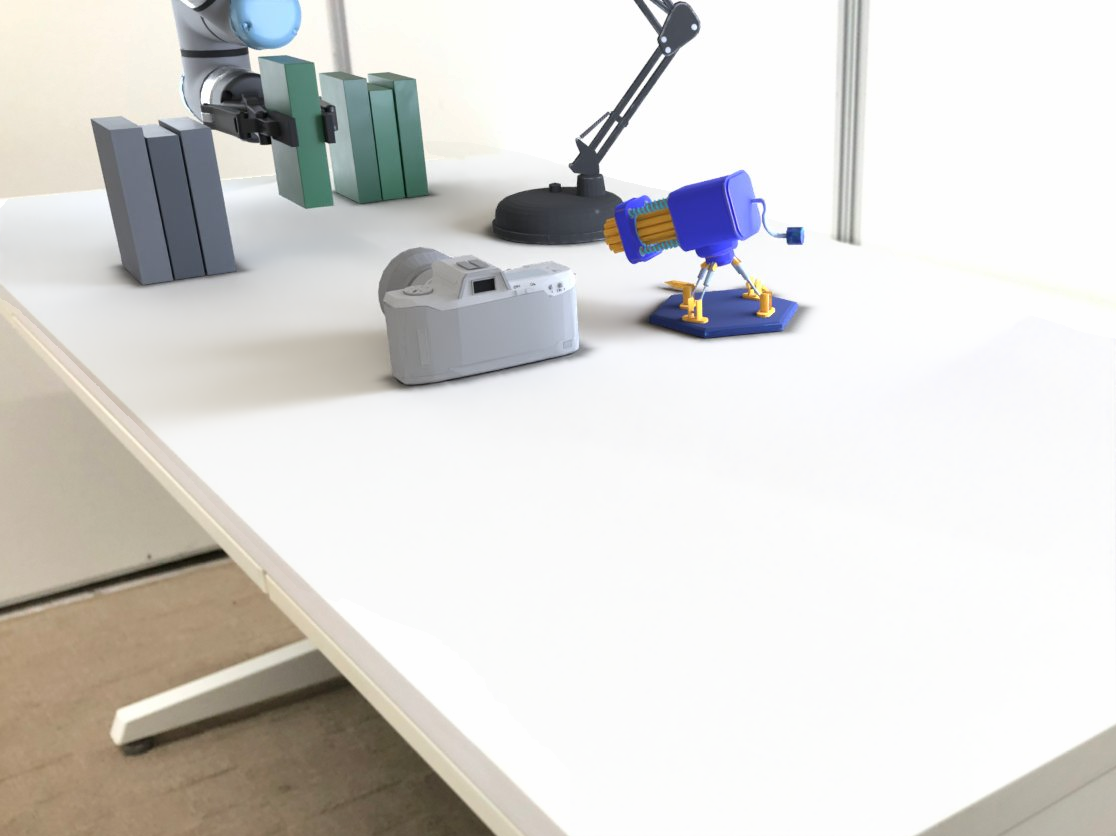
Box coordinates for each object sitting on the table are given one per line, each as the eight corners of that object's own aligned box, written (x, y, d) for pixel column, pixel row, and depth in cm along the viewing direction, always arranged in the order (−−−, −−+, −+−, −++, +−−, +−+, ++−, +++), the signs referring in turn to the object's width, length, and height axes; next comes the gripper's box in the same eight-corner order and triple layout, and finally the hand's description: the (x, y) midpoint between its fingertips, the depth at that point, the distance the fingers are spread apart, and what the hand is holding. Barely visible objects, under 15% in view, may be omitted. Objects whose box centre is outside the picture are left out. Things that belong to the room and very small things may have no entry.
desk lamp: (394, 238, 145) (334, -233, 125) (546, 197, 164) (516, -217, 144) (564, 266, 133) (528, -250, 113) (706, 218, 152) (698, -229, 132)
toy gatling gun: (701, 276, 129) (698, 144, 124) (842, 310, 118) (846, 167, 112) (590, 306, 120) (582, 165, 114) (732, 347, 109) (731, 193, 103)
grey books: (122, 266, 134) (90, 118, 128) (213, 253, 139) (186, 110, 132) (142, 285, 128) (109, 130, 121) (237, 271, 132) (210, 121, 126)
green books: (335, 191, 168) (318, 72, 162) (402, 183, 173) (388, 67, 166) (359, 203, 162) (342, 80, 155) (429, 194, 166) (415, 74, 160)
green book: (278, 194, 141) (256, 56, 134) (306, 191, 142) (285, 54, 136) (305, 209, 134) (284, 64, 128) (334, 205, 135) (314, 62, 129)
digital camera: (535, 359, 118) (550, 247, 115) (587, 400, 107) (605, 278, 103) (346, 342, 111) (357, 223, 107) (380, 385, 99) (392, 252, 96)
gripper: (320, 133, 154) (393, 161, 136) (177, 145, 145) (236, 178, 128) (310, 65, 150) (385, 85, 133) (164, 74, 142) (223, 97, 125)
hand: (312, 131), depth 130 cm, fingers closed on green book, 3 cm apart
